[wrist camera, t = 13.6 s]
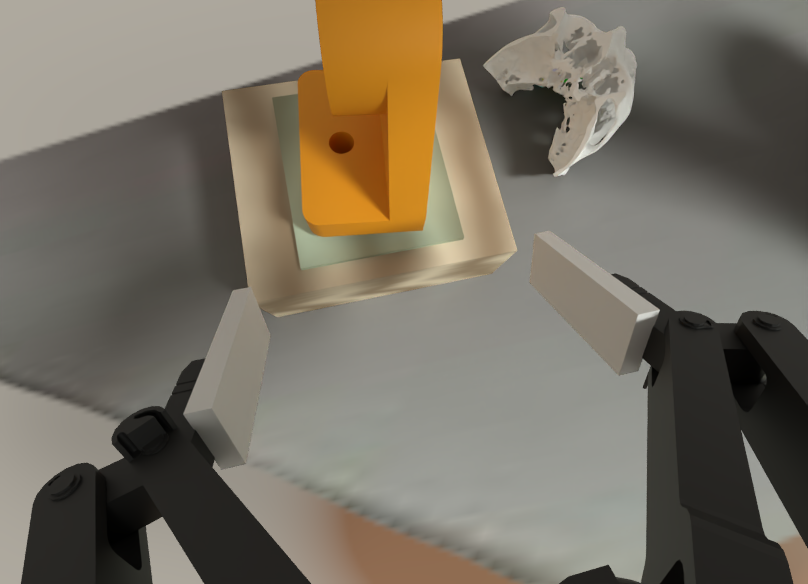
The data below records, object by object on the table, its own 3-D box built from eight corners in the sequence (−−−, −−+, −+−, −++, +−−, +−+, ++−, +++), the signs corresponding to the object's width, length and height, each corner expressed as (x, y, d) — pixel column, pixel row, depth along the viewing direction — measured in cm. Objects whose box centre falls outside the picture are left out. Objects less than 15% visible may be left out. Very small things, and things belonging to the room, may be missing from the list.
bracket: (305, 101, 26) (241, -125, 14) (405, 97, 26) (424, -124, 15) (311, 242, 23) (240, 113, 12) (421, 235, 24) (458, 104, 12)
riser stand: (446, 113, 34) (460, 53, 27) (491, 273, 30) (519, 248, 24) (251, 142, 32) (219, 86, 25) (277, 317, 29) (248, 301, 22)
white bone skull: (678, 121, 31) (675, 90, 24) (581, 186, 36) (555, 177, 29) (602, 20, 33) (578, -38, 26) (522, 95, 39) (482, 65, 31)
